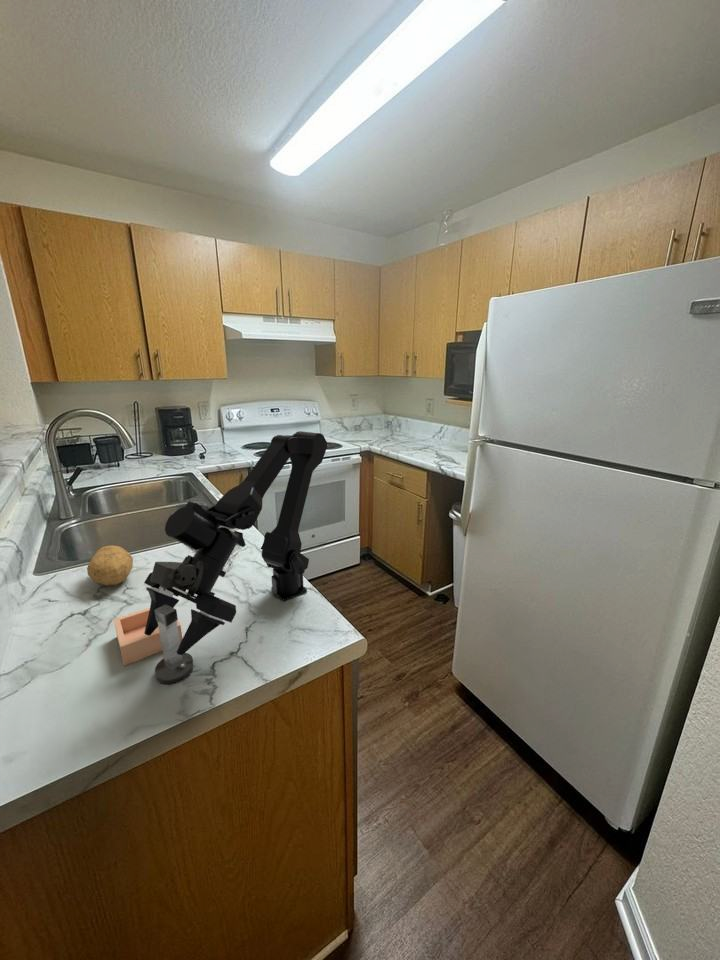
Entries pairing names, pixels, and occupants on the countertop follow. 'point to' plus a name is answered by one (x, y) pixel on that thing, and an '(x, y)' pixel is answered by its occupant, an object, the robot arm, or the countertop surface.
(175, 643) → the grey stamp
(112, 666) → the countertop surface
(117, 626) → the peach square open box
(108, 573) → the potato
